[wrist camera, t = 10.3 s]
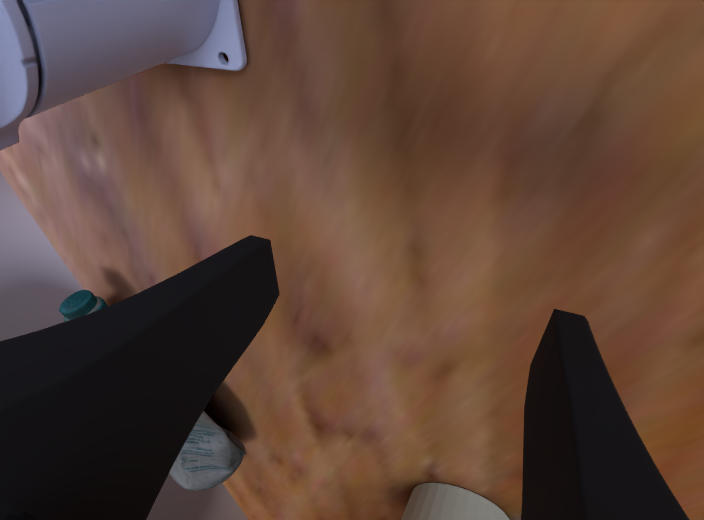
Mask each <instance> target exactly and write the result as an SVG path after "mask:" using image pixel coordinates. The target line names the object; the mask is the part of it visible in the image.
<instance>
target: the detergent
mask: <svg viewBox="0 0 704 520" xmlns="http://www.w3.org/2000/svg"><path fill="white" fill-rule="evenodd" d="M107 306H108V305H107V304H106V302H105V301H104V300H103V299H102V298H101V297H97V296H94V295H93V293H92V292H90V291H89V290H81V291H78V292H75V293H74V294H72V295H71V296H69V297H68V298H67V299H66V300H64V301H63V302H62V304H61V306H60V309H59V311H60V312H61V313H62V314H63V315H64V322H66V321H69V320H72V319H75V318H78V317H81V316H84V315H87V314H89V313H92V312H95V311H97V310H100V309H102V308H105V307H107ZM244 455H246V450H245V447H244V445H243V444H242V442H241V441H240V440H239V439H238V438H237V437H235V436H234V435H233V434H232V433H231V432H230V431H228V430H226V429H224V428H221V427H220V426H219V425H217V424H216V423H215V422H214V421H213V420H212V419H211V418H210V417H209V416H208V415H207V414H206V413H205V412H204V411H203V412H202V414H201V416H200V417H199V419H198V421H197V422H196V424H195V426H194V428H193V429H192V431H191V433H190V435H189V436H188V438H187V440H186V442H185V444H184V446H183V447H182V449H181V451H180V453H179V455H178V457H177V459H176V460H175V462H174V464H173V466H172V468H171V470H170V472H169V474H170V475H171V477H172V478H173V479H174V480H175V481H176V482H177V483H178V484H179V485H180V486H182V487H183V488H185V489H189V490H205V489H208V488H213V487H215V486H217V485H218V484H220V483H222V482H224V481H225V480H226V479H228V478H229V477H230V476H231V475H232V474H233V473H234V472H235V471H236V469H237V468H238V467H239V465H240V464H241V462H242V459H243V457H244Z"/></svg>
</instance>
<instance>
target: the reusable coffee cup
mask: <svg viewBox="0 0 704 520" xmlns="http://www.w3.org/2000/svg"><path fill="white" fill-rule="evenodd" d="M401 520H509V518H508V516H507V515H506V514H505V513H504V512H503V511H502V510H501V509H500V508H499V507H498V506H496V505H495V504H493V503H492V502H491V501H489V500H487V499H485V498H484V497H482V496H480V495H478V494H476V493H473V492H471V491H469V490H466V489H463V488H460V487H457V486H453V485H449V484H443V483H423V484H420V485H418V486H416V487H415V488H414V489H413V491H412V494H411V496H410V499H409V501H408V503H407V506H406V508H405V511H404V513H403V516H402V518H401Z"/></svg>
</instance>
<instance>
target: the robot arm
mask: <svg viewBox="0 0 704 520" xmlns="http://www.w3.org/2000/svg"><path fill="white" fill-rule="evenodd" d="M223 53H225V54H226V55H227V57H228V62H227V61H226V60H225V58H224V56H223ZM162 63H170V64H179V65H188V66H196V67H205V68H214V69H222V70H231V71H239V70H241V69H243V68H244V67H245V66H246V64H247V57H246V51H245V44H244V38H243V32H242V26H241V20H240V13H239V7H238V1H237V0H0V150H2V149H5V148H7V147H9V146H11V145H14V144H16V143H18V142H19V134H18V128H19V124H20V123H21V122H22V121H23V120H24V119H25V118H28V117H31V116H33V115H36V114H38V113H41V112H43V111H46V110H48V109H50V108H53V107H55V106H58V105H60V104H63V103H65V102H68V101H70V100H73V99H75V98H78V97H80V96H83V95H85V94H88V93H90V92H92V91H95V90H97V89H100V88H102V87H105V86H107V85H110V84H112V83H115V82H117V81H120V80H122V79H125V78H127V77H130V76H132V75H135V74H137V73H139V72H142V71H144V70H147V69H149V68H152V67H154V66H157V65H159V64H162ZM278 296H279V288H278V282H277V277H276V271H275V265H274V259H273V253H272V248H271V242H270V240H269V239H264V238H260V237H256V236H252V235H250V236H248V237H246V238H244V239H242V240H240V241H238V242H236V243H234V244H232V245H230V246H229V247H227V248H225V249H223V250H221V251H219V252H218V253H216V254H214V255H212V256H210V257H208V258H207V259H205V260H203V261H201V262H199V263H197V264H195V265H193V266H192V267H190V268H188V269H186V270H184V271H182V272H180V273H178V274H177V275H175V276H173V277H170V278H168V279H166V280H164V281H162V282H160V283H158V284H156V285H154V286H152V287H150V288H148V289H146V290H144V291H142V292H140V293H138V294H135V295H133V296H131V297H129V298H126V299H124V300H122V301H119V302H117V303H115V304H112V305H110V306H107V307H105V308H102V309H100V310H97V311H95V312H92V313H89V314H87V315H84V316H81V317H78V318H75V319H72V320H69V321H66V322H63V323H60V324H57V325H55V326H51V327H48V328H45V329H42V330H39V331H36V332H32V333H29V334H25V335H22V336H18V337H15V338H11V339H8V340H4V341H0V520H146V519H147V517H148V514H149V512H150V510H151V508H152V506H153V503H154V502H155V500H156V498H157V496H158V494H159V492H160V490H161V488H162V486H163V484H164V482H165V480H166V478H167V476H168V474H169V472H170V470H171V468H172V466H173V464H174V462H175V460H176V459H177V457H178V455H179V453H180V451H181V449H182V447H183V446H184V444H185V442H186V440H187V438H188V436H189V435H190V433H191V431H192V429H193V428H194V426H195V424H196V422H197V421H198V419H199V417H200V416H201V414H202V412H203V410H204V409H205V407H206V405H207V404H208V402H209V400H210V399H211V397H212V396H213V394H214V393H215V391H216V390H217V388H218V387H219V386H220V384H221V383H222V381H223V380H224V379H225V377H226V376H227V375H228V373H229V372H230V370H231V369H232V368H233V366H234V365H235V364H236V362H237V361H238V359H239V358H240V357H241V355H242V354H243V353H244V351H245V350H246V348H247V347H248V346H249V344H250V343H251V341H252V340H253V339H254V337H255V336H256V334H257V333H258V332H259V330H260V329H261V327H262V326H263V324H264V323H265V321H266V319H267V317H268V315H269V314H270V312H271V310H272V308H273V306H274V304H275V302H276V300H277V298H278ZM521 520H689V519H688V517H687V515H686V514H685V512H684V511H683V509H682V508H681V506H680V504H679V503H678V501H677V500H676V498H675V496H674V495H673V493H672V492H671V490H670V489H669V487H668V485H667V484H666V482H665V480H664V479H663V477H662V475H661V474H660V472H659V470H658V468H657V467H656V465H655V463H654V462H653V460H652V458H651V456H650V454H649V453H648V451H647V449H646V447H645V445H644V444H643V442H642V440H641V438H640V436H639V434H638V433H637V431H636V429H635V427H634V425H633V423H632V421H631V419H630V417H629V415H628V413H627V411H626V409H625V407H624V405H623V403H622V401H621V399H620V397H619V395H618V392H617V390H616V388H615V386H614V384H613V382H612V380H611V377H610V375H609V373H608V371H607V368H606V366H605V364H604V361H603V359H602V357H601V354H600V352H599V349H598V347H597V344H596V342H595V339H594V337H593V334H592V331H591V329H590V326H589V323H588V321H587V319H586V318H585V316H582V315H578V314H574V313H569V312H565V311H561V310H557V309H554V311H553V313H552V316H551V318H550V320H549V323H548V325H547V327H546V330H545V332H544V334H543V337H542V339H541V341H540V344H539V346H538V349H537V351H536V353H535V356H534V358H533V360H532V363H531V365H530V372H529V378H528V385H527V392H526V399H525V408H524V446H523V492H522V514H521Z"/></svg>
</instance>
